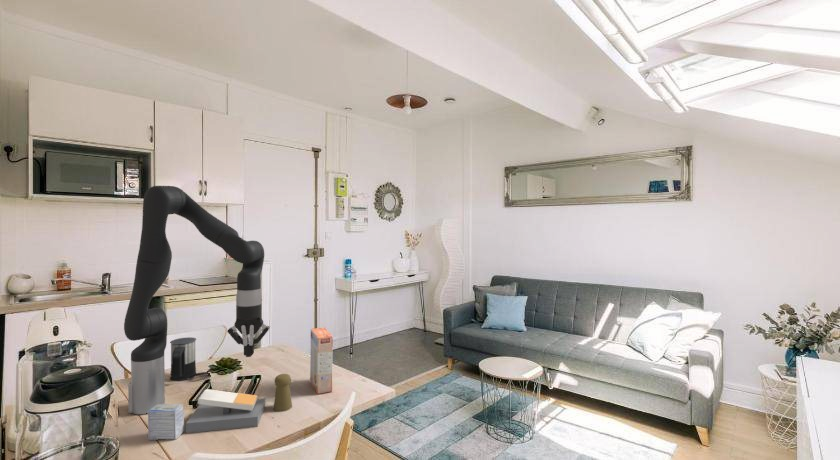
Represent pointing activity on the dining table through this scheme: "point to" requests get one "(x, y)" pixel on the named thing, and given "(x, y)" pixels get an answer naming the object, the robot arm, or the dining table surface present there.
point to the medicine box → (165, 421)
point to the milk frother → (183, 359)
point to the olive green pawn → (282, 393)
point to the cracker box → (321, 360)
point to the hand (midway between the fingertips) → (249, 356)
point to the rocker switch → (227, 399)
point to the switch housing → (224, 417)
